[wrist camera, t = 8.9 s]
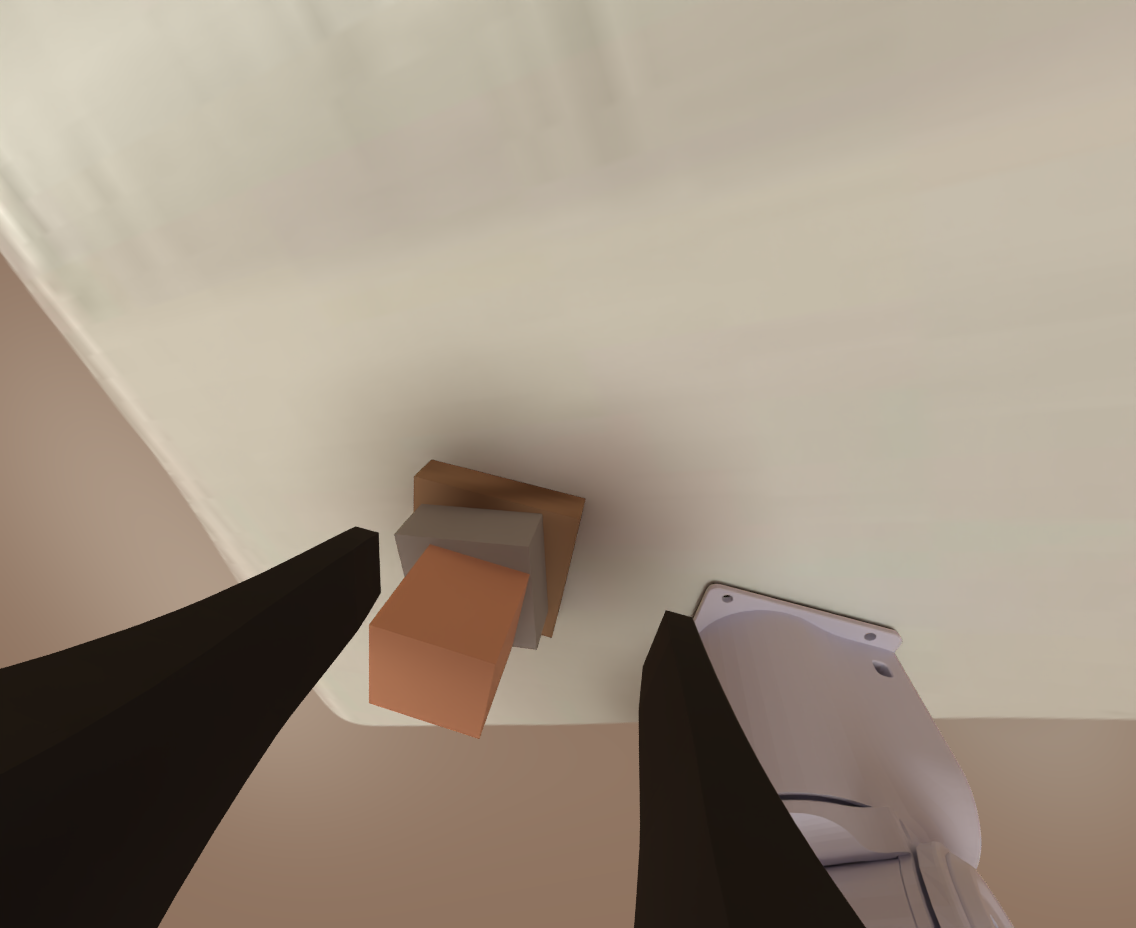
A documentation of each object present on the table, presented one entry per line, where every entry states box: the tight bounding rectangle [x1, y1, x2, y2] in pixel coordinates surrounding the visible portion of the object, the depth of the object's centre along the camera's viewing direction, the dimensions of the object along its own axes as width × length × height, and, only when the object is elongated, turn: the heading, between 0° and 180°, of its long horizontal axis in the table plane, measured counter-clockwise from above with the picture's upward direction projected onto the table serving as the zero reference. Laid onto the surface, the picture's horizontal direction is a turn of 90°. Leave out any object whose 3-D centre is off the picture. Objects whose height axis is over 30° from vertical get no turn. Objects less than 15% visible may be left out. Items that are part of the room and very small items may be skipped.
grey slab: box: [394, 504, 548, 650], centre depth 21 cm, size 6×6×2 cm
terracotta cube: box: [369, 544, 530, 739], centre depth 18 cm, size 4×4×4 cm
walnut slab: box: [414, 460, 585, 638], centre depth 23 cm, size 8×8×2 cm
